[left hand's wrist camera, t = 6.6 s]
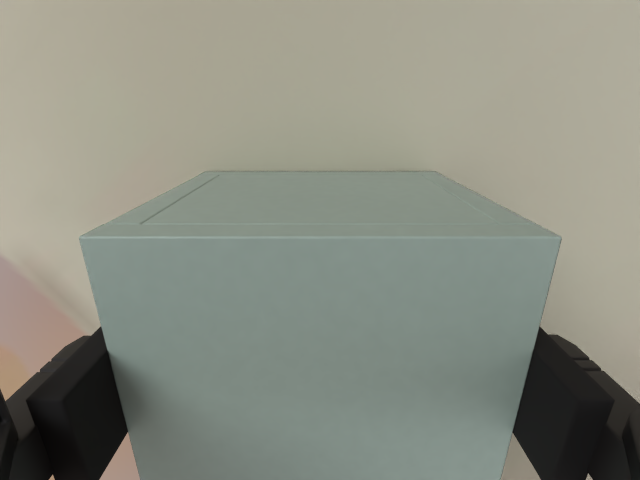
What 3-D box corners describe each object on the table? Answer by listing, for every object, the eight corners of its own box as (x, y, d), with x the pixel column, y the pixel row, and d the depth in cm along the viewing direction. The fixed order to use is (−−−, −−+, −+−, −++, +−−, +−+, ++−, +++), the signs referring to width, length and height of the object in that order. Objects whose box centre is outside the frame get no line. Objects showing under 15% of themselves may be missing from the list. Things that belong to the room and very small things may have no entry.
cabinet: (400, 486, 23) (445, 698, 15) (240, 486, 23) (194, 698, 15) (436, 171, 16) (563, 236, 8) (204, 171, 16) (76, 236, 8)
